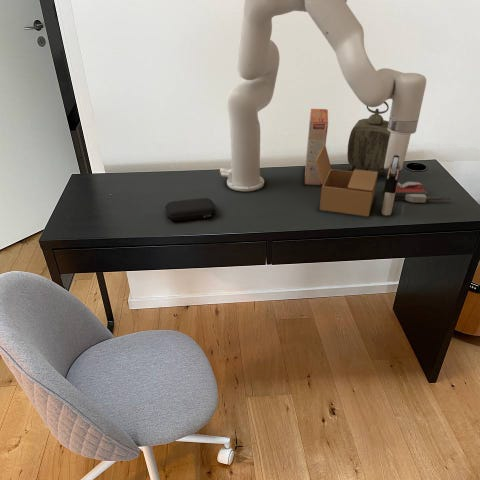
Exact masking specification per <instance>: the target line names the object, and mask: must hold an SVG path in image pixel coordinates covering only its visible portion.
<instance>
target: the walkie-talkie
mask: <svg viewBox="0 0 480 480" xmlns="http://www.w3.org/2000/svg"><path fill="white" fill-rule="evenodd" d="M427 194H428V191H426V187H425V186H424V185H423V184H422V183H421V182H419V181H406V182H404V183H402V184H401V183H400V182H397V187H396V192H395V197H394V201H396V200H399V201H401V200H403V201H406V202H409V203H422V204H423V203H424V204H425V203H427V202H428V201H442V200H443V201H444V200H446V201H447V200H452V197H451V196H427Z"/></svg>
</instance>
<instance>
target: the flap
mask: <svg viewBox="0 0 480 480" xmlns="http://www.w3.org/2000/svg"><path fill="white" fill-rule="evenodd" d="M326 145H327V144H326ZM326 145H324V146H323V148H322V150H321V151H320V153H319V155H318V157H317V159H316V161H315V162H316V166H317V169H318V173H319V177H320V181H321V185H323V183H324V181H325V179H326V177H327V175H328V173H329V170H330V169H331V168H332V166H331V161H330V158H329V154H328V149H327V146H326Z"/></svg>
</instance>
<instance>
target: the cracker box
mask: <svg viewBox="0 0 480 480" xmlns="http://www.w3.org/2000/svg"><path fill="white" fill-rule="evenodd" d="M328 110H329V109H326V108H310V113H309V124H308V134H307V145H306V156H305V165H304V166H305V167H304V185H306V186H307V185H310V186H311V185H312V186H322V184H321V181H320V177H319V173H318V169H317V166H316V162H315V161H316V159H317V157H318V155H319V153H320V151H321V150H322V148H323V146H324V145H327V136H328V128H329V111H328Z"/></svg>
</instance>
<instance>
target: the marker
mask: <svg viewBox="0 0 480 480" xmlns="http://www.w3.org/2000/svg"><path fill="white" fill-rule="evenodd" d="M396 169H398V167H397V168H396ZM390 172H391V171H390ZM396 172H397V171H396ZM396 172H395V173H396ZM400 174H401V170H399V172H398V177H397V179H398V181H397V183H399V178H400ZM396 187H397V186H396ZM395 192H396V191H395ZM394 197H395V193H387V192H384V196H383V201H382V207H381V214H382V215H383V216H391V215H392V212H393V206H394V202H395V200H394Z"/></svg>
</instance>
